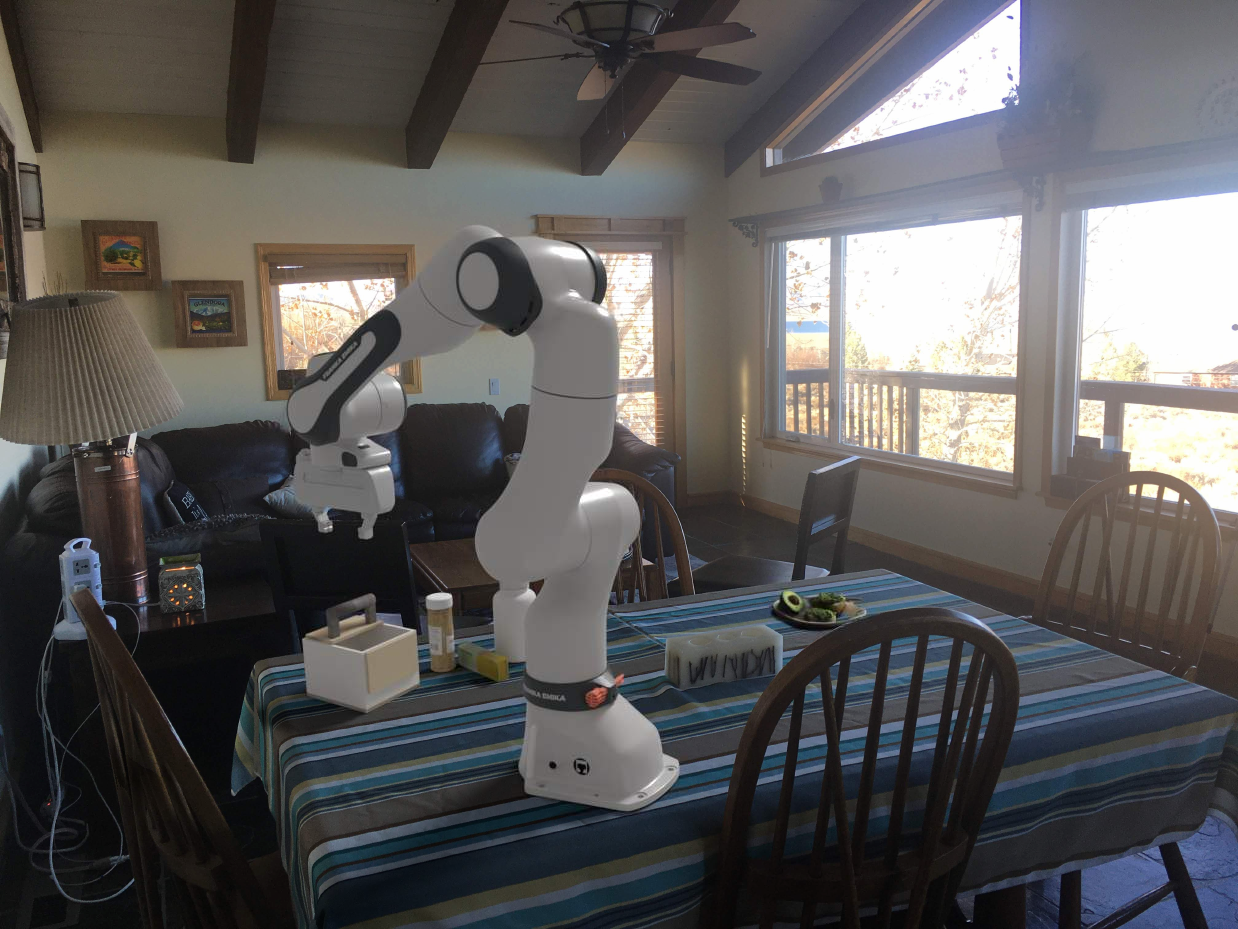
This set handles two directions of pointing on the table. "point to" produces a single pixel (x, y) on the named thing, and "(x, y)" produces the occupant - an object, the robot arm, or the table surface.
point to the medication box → (483, 661)
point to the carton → (363, 667)
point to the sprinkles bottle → (441, 632)
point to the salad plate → (816, 609)
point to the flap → (348, 620)
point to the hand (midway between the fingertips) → (345, 534)
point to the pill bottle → (511, 619)
